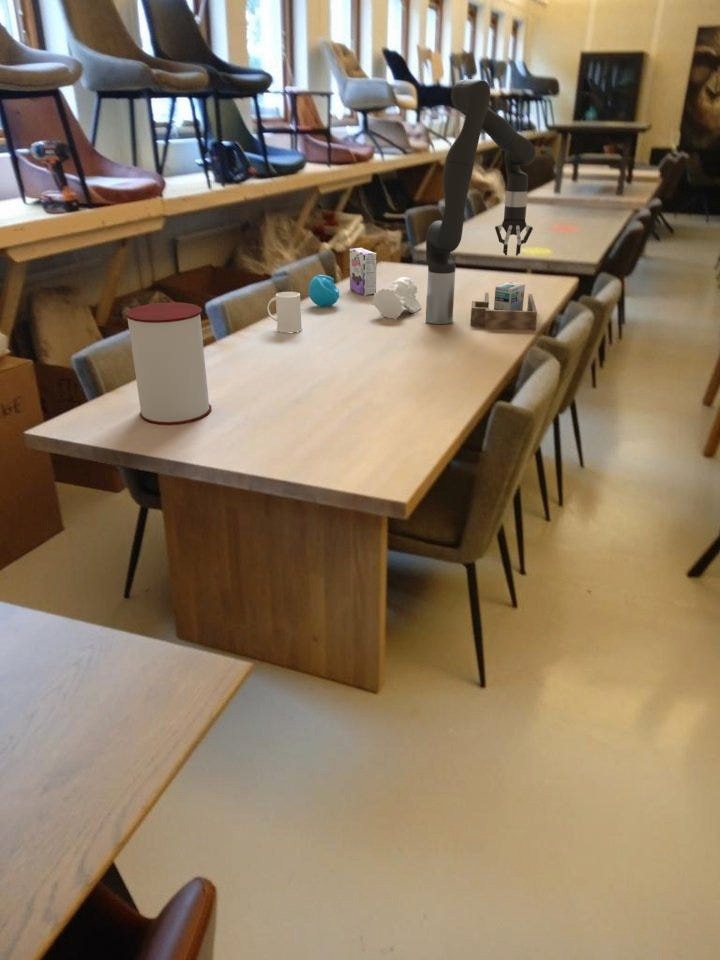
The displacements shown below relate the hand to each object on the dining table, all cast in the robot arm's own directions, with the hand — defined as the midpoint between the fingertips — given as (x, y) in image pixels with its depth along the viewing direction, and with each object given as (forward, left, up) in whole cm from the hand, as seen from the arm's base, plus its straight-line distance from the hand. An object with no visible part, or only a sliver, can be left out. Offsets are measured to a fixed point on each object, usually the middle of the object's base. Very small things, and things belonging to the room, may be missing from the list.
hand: (511, 255), depth 270 cm
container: (-84, -119, -19) cm, 147 cm away
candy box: (-57, +19, -19) cm, 63 cm away
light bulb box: (0, -11, -19) cm, 22 cm away
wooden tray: (-2, -17, -19) cm, 25 cm away
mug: (-75, -41, -19) cm, 88 cm away
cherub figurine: (-40, -13, -20) cm, 46 cm away
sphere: (-68, -7, -19) cm, 71 cm away
